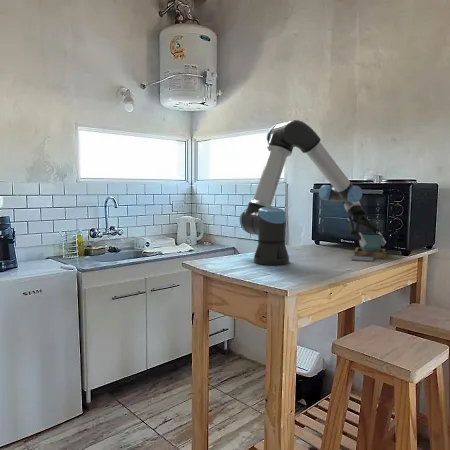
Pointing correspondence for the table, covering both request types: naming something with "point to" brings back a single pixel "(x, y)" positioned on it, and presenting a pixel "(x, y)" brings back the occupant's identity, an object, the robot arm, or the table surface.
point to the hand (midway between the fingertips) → (374, 244)
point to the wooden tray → (371, 253)
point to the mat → (362, 258)
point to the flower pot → (372, 242)
